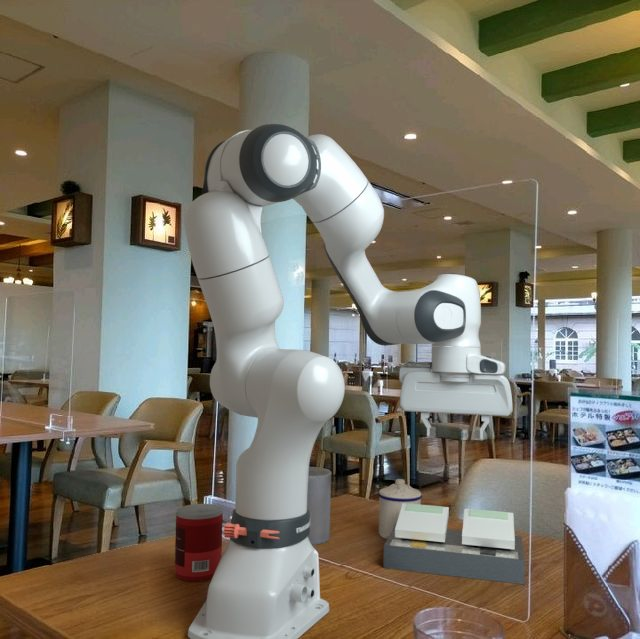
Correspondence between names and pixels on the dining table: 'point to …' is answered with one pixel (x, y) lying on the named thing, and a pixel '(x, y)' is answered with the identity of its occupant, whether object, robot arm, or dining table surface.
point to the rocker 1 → (422, 522)
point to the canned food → (198, 541)
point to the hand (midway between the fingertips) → (454, 438)
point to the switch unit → (455, 558)
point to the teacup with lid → (394, 504)
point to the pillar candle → (319, 504)
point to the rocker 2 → (488, 529)
